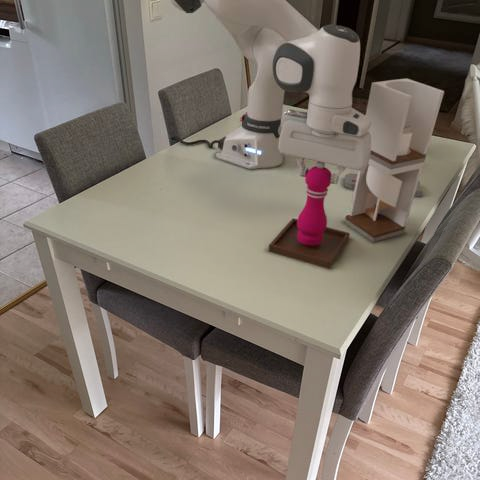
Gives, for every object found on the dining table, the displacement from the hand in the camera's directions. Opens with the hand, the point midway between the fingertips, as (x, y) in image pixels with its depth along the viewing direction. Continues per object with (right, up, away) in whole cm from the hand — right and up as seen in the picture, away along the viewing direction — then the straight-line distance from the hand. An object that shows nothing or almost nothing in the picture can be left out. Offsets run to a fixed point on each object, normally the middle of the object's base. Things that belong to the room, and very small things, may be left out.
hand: (318, 179), depth 111 cm
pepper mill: (-1, -12, +10) cm, 16 cm away
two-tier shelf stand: (+18, -8, +19) cm, 27 cm away
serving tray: (0, -13, +11) cm, 17 cm away
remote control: (+26, +9, +39) cm, 48 cm away
